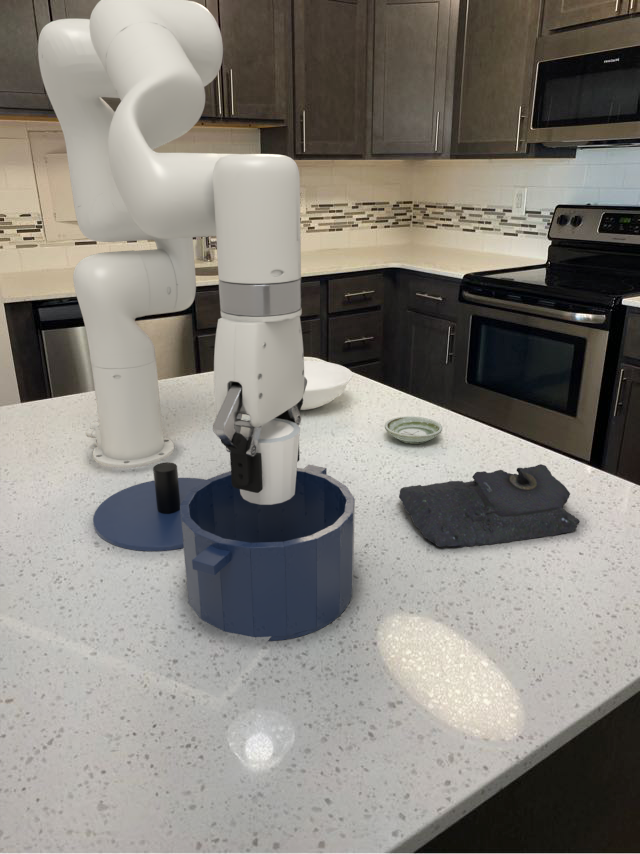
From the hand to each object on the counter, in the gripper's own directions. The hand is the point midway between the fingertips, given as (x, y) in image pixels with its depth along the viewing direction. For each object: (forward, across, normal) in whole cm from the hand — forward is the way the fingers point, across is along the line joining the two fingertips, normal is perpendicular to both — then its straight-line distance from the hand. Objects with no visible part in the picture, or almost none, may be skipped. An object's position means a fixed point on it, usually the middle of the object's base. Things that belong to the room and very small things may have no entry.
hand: (267, 473), depth 67 cm
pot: (+14, 0, 0) cm, 14 cm away
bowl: (+14, -55, -25) cm, 62 cm away
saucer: (+14, -48, 0) cm, 50 cm away
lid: (+13, -8, -20) cm, 25 cm away
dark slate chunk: (+14, -27, +17) cm, 35 cm away
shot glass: (+2, 0, 0) cm, 2 cm away
